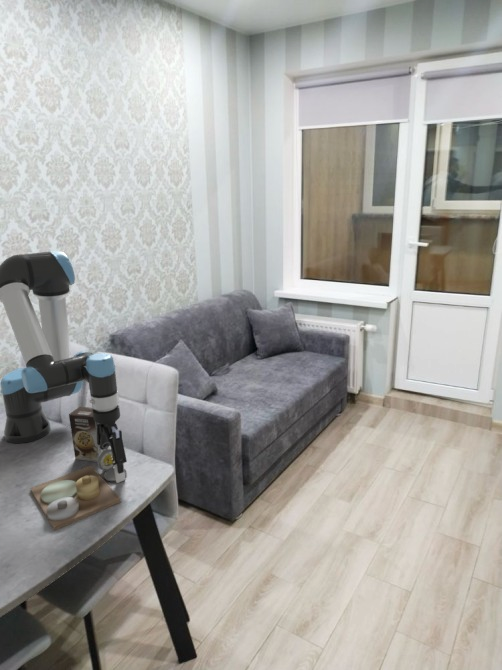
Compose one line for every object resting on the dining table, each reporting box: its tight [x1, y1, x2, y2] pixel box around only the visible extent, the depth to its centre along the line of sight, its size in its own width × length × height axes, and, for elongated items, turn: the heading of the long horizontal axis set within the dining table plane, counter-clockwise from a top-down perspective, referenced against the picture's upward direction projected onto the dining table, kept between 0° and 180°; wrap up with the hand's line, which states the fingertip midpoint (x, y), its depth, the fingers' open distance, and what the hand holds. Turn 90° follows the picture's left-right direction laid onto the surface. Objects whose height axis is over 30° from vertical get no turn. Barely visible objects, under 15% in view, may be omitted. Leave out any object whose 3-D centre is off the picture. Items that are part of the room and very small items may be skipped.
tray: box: [30, 465, 122, 531], centre depth 134 cm, size 22×18×6 cm
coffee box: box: [68, 406, 102, 463], centre depth 153 cm, size 9×6×16 cm
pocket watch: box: [97, 442, 127, 483], centre depth 143 cm, size 8×8×10 cm
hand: (114, 474), depth 145 cm, fingers open, 9 cm apart
